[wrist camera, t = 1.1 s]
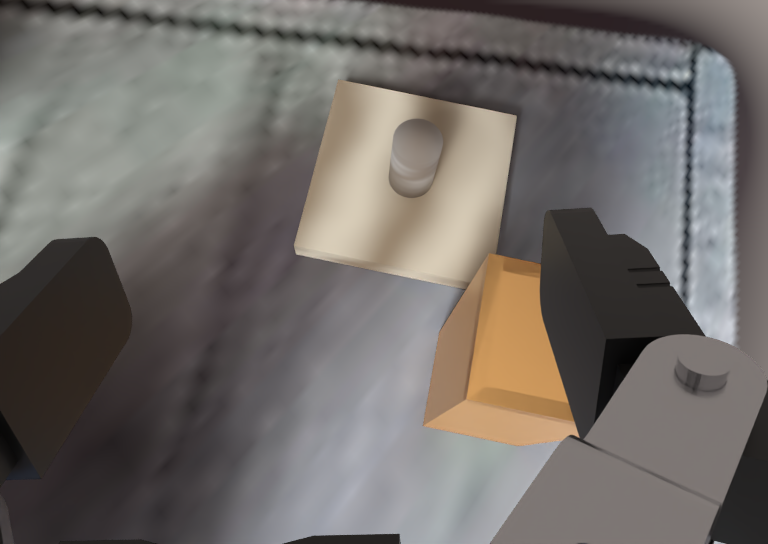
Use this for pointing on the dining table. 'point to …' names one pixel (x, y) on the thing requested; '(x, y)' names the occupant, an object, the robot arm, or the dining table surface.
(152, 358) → the dining table surface
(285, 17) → the dining table surface
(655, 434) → the robot arm
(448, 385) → the orange tall block
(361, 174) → the stub plate
